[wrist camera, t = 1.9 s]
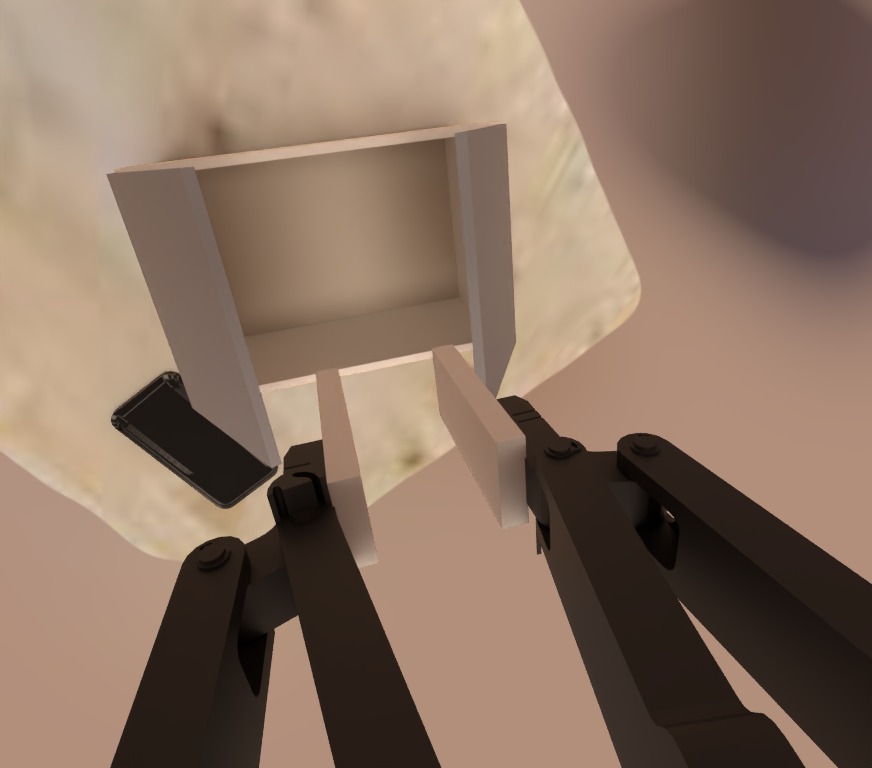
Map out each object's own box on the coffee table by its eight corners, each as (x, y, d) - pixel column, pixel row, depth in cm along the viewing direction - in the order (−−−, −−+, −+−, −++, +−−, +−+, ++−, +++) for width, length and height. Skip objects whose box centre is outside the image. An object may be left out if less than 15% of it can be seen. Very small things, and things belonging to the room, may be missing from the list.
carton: (160, 162, 41) (114, 169, 31) (449, 126, 46) (497, 121, 35) (219, 346, 48) (199, 405, 38) (464, 300, 53) (509, 342, 42)
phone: (169, 369, 48) (282, 469, 55) (172, 365, 49) (282, 463, 56) (104, 420, 48) (224, 513, 55) (107, 415, 49) (225, 506, 56)
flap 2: (454, 133, 24) (467, 131, 24) (497, 124, 34) (506, 123, 34) (478, 418, 31) (488, 418, 31) (508, 342, 41) (515, 342, 41)
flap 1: (117, 172, 30) (106, 174, 30) (193, 166, 22) (179, 168, 22) (200, 404, 37) (192, 408, 37) (281, 463, 29) (272, 468, 29)
